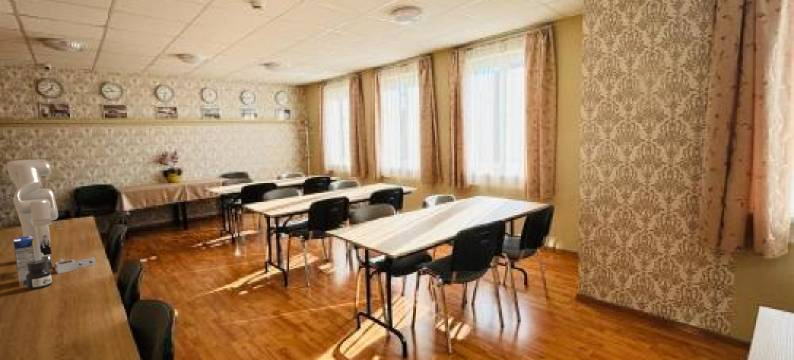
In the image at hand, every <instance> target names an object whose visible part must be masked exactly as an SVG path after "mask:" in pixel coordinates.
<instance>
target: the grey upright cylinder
mask: <svg viewBox="0 0 794 360" xmlns="http://www.w3.org/2000/svg"><path fill="white" fill-rule="evenodd" d="M41 259H42V260H46V262H47V268H46V269H48V270H52V269H53V268H54V267H53V261H52V259H53V258H52V254H49V255H47V256H42V257H41Z"/></svg>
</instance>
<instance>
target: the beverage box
mask: <svg viewBox="0 0 794 360" xmlns="http://www.w3.org/2000/svg"><path fill="white" fill-rule="evenodd" d="M13 247H14V253H15V254H14V255H15V260H16V261H15V262H16V268H17V275H18V283H19V287H22V286H27V282H26V275H27V274H28V273H29V271H28V267H27V263H29V262H33V261H36V258H35V250H34V242H33V236H25V237H23V236H19V237H14V238H13Z"/></svg>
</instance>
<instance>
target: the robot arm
mask: <svg viewBox="0 0 794 360" xmlns="http://www.w3.org/2000/svg"><path fill="white" fill-rule="evenodd" d="M6 168H7V174H8V175H9V177H10V179H12V181H13V183H14V184H15V187H16V191H15V193H14V194H13V203H14V206H15V207H14V208H15V211H16V212H17V214H18V215H17V216H18V219H19V222H20V225H21V229H22V237H25V236H33V242H34V250H35V258H36V261H38V260H42V259H41V257H42V256H47V255H52V248H51V244H50V243H51V242H52V241H51V231H50V225H52V221H55V220H57V219H58V218H59V211H58V205H57V202H56V197H55V193H54V191H53V190H52V189H50V188H47V187H44V188H41V187H42V180H41V178H40V177H45V176H46V177H47V176H48V177H49V176H50V175H51V174H52V166H51V165H50V163H49V161H47V160H45V159H42V158H41V159H40V158H39V159H21V160H20V159H19V160H17V159H16V160H12V161H10V162H8V163H7V164H6Z"/></svg>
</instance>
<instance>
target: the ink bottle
mask: <svg viewBox="0 0 794 360" xmlns="http://www.w3.org/2000/svg"><path fill="white" fill-rule="evenodd" d="M27 267H28V271H29V273H28V274H27V275H26V282H27V285H26V287H27V289H28V290H38V289H43V288H46V287H49V286H51V285H52V284H53V280H52V272H51V269H46V268H47V262H46V260H38V261H33V262H29V263H27Z"/></svg>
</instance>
